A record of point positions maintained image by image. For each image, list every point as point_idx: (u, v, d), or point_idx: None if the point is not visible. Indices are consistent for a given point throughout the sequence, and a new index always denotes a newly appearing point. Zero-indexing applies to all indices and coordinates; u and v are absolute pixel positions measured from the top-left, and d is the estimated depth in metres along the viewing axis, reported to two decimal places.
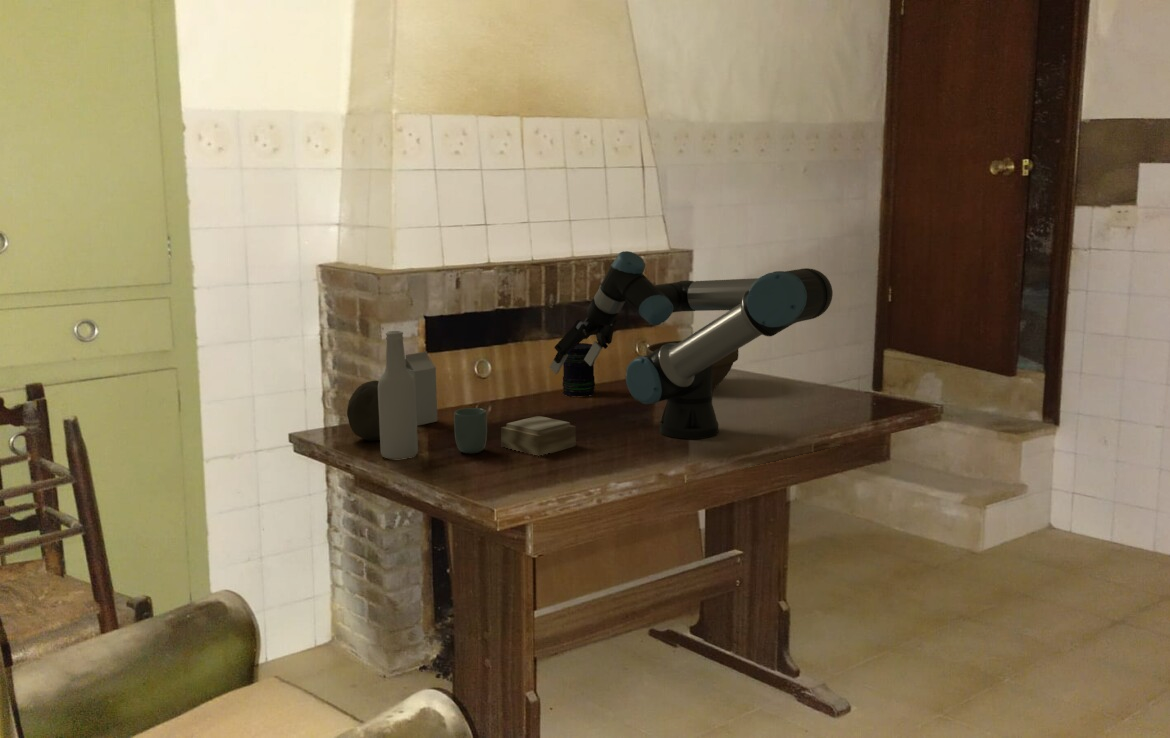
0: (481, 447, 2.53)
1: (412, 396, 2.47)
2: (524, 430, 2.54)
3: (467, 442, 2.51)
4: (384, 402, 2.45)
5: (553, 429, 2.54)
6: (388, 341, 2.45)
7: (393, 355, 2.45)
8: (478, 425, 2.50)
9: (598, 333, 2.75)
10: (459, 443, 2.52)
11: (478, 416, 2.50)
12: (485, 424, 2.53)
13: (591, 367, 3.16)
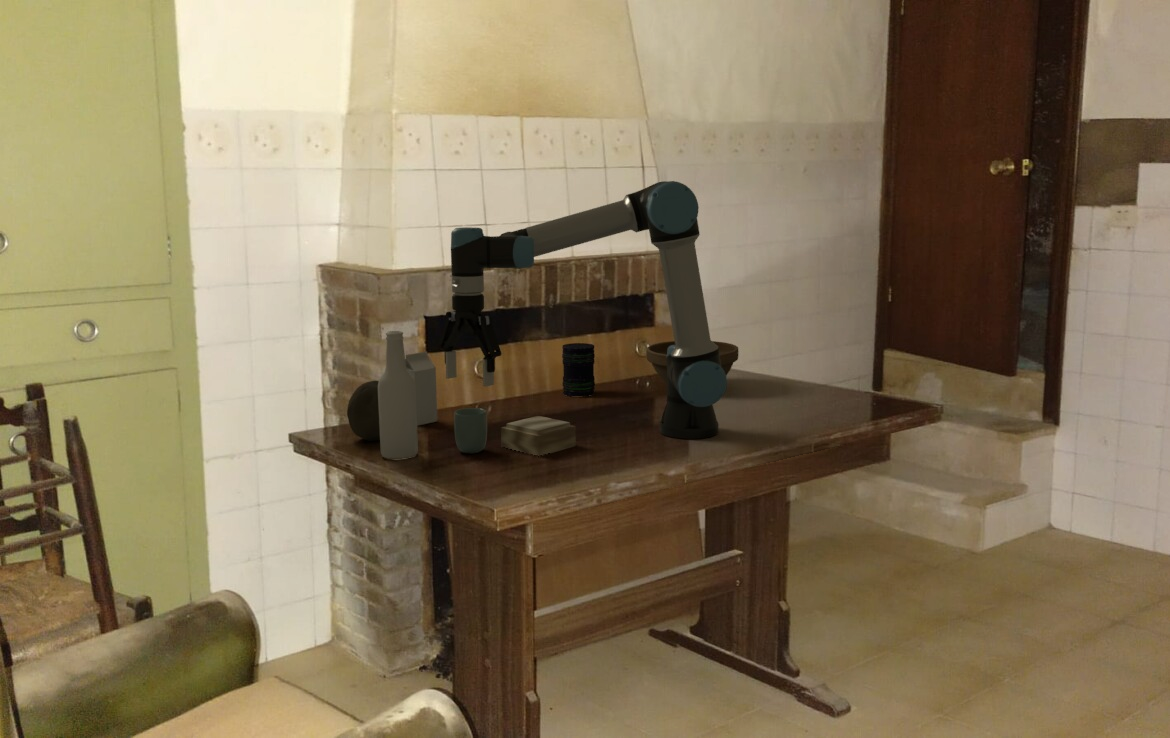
0: (481, 447, 2.53)
1: (412, 396, 2.47)
2: (524, 430, 2.54)
3: (467, 442, 2.51)
4: (384, 402, 2.45)
5: (553, 429, 2.54)
6: (388, 341, 2.45)
7: (393, 355, 2.45)
8: (478, 425, 2.50)
9: (460, 333, 2.53)
10: (459, 443, 2.52)
11: (478, 416, 2.50)
12: (485, 424, 2.53)
13: (591, 367, 3.16)
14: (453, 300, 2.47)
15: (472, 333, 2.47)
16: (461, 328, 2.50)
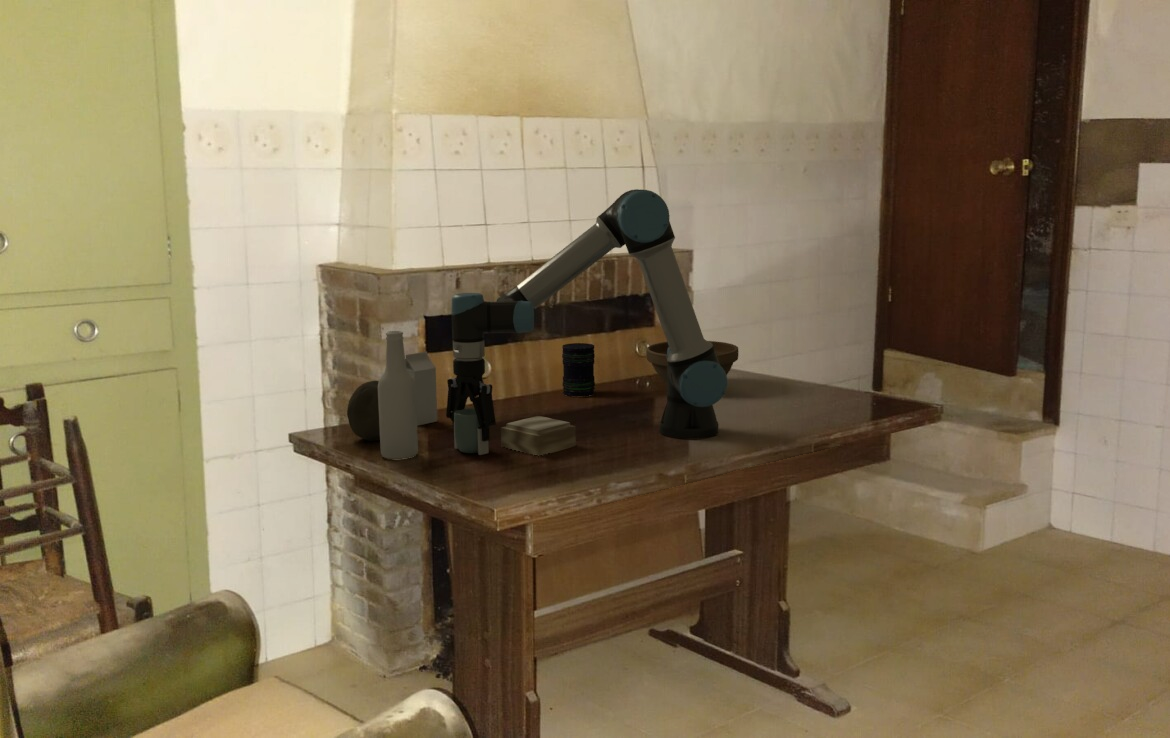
0: None
1: (412, 396, 2.47)
2: (524, 430, 2.54)
3: (467, 442, 2.51)
4: (384, 402, 2.45)
5: (553, 429, 2.54)
6: (388, 341, 2.45)
7: (393, 355, 2.45)
8: (478, 425, 2.50)
9: (464, 399, 2.54)
10: (459, 443, 2.52)
11: None
12: None
13: (591, 367, 3.16)
14: (454, 365, 2.49)
15: (471, 399, 2.50)
16: (462, 392, 2.52)
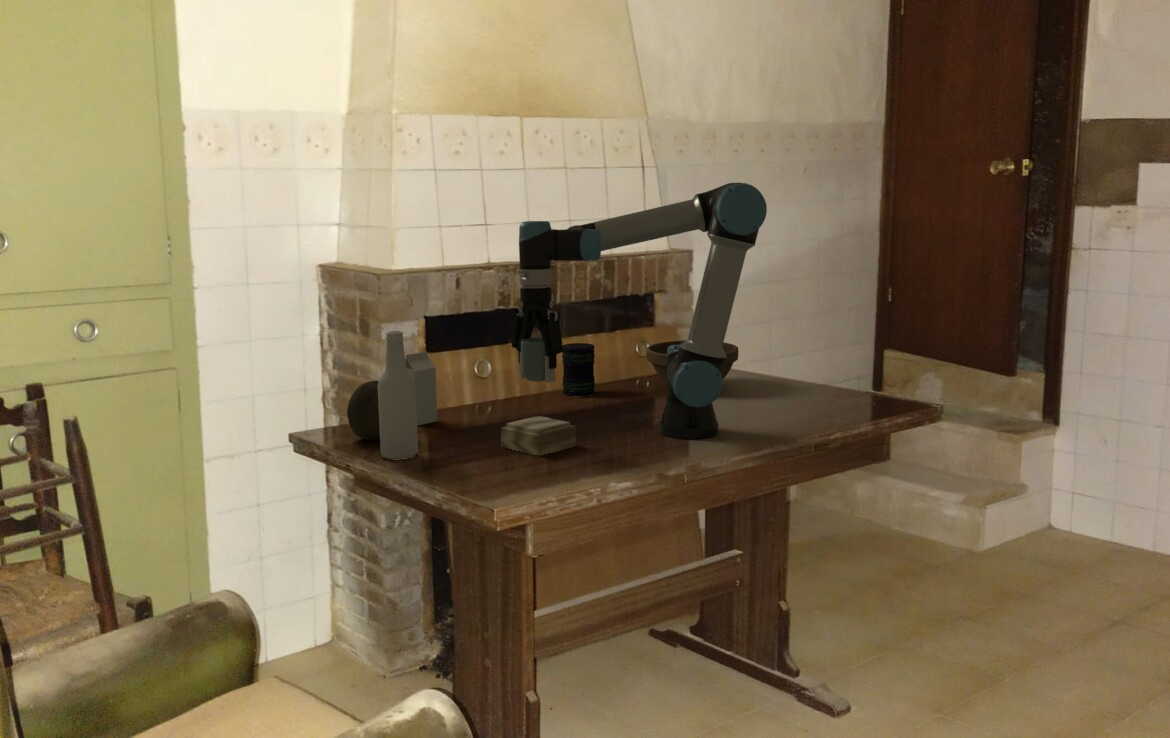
0: None
1: (412, 396, 2.47)
2: (524, 430, 2.54)
3: (534, 369, 2.52)
4: (384, 402, 2.45)
5: (553, 429, 2.54)
6: (388, 341, 2.45)
7: (393, 355, 2.45)
8: (545, 352, 2.51)
9: (530, 328, 2.55)
10: (526, 371, 2.53)
11: None
12: None
13: (591, 367, 3.16)
14: (522, 293, 2.50)
15: (538, 327, 2.51)
16: (529, 320, 2.53)
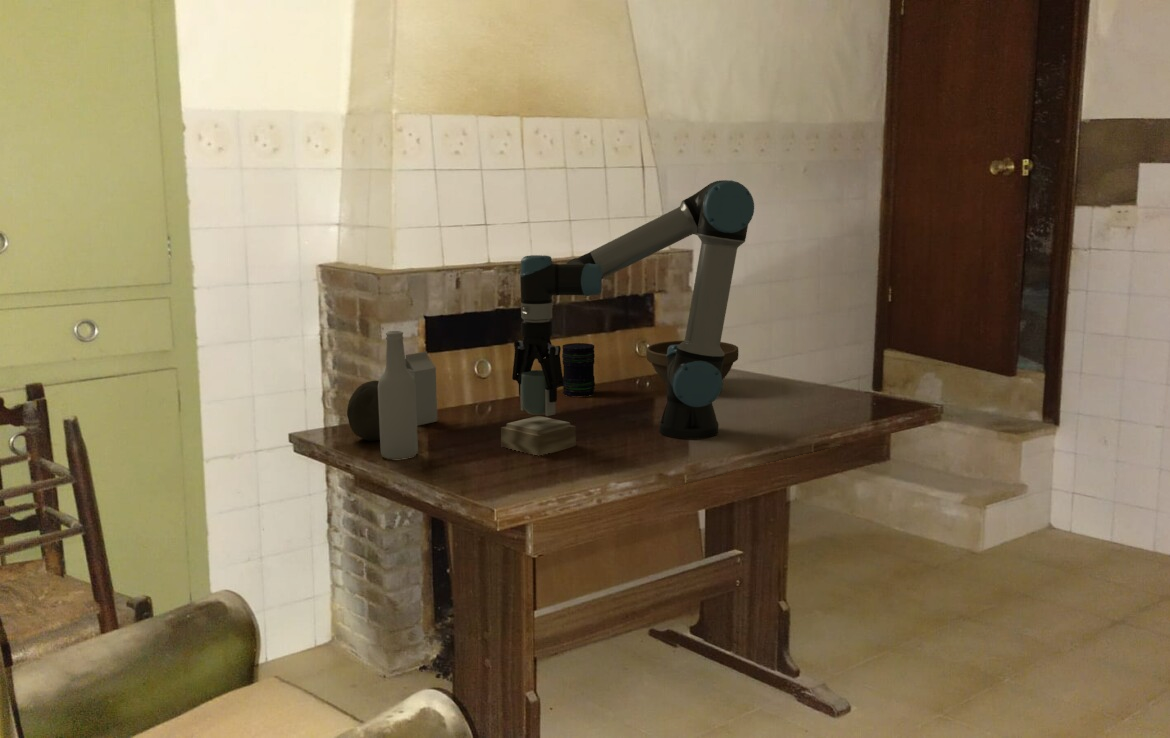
0: None
1: (412, 396, 2.47)
2: (524, 430, 2.54)
3: (534, 403, 2.53)
4: (384, 402, 2.45)
5: (553, 429, 2.54)
6: (388, 341, 2.45)
7: (393, 355, 2.45)
8: (546, 386, 2.53)
9: (531, 361, 2.57)
10: (526, 404, 2.54)
11: None
12: None
13: (591, 367, 3.16)
14: (523, 327, 2.52)
15: (539, 361, 2.52)
16: (530, 354, 2.55)
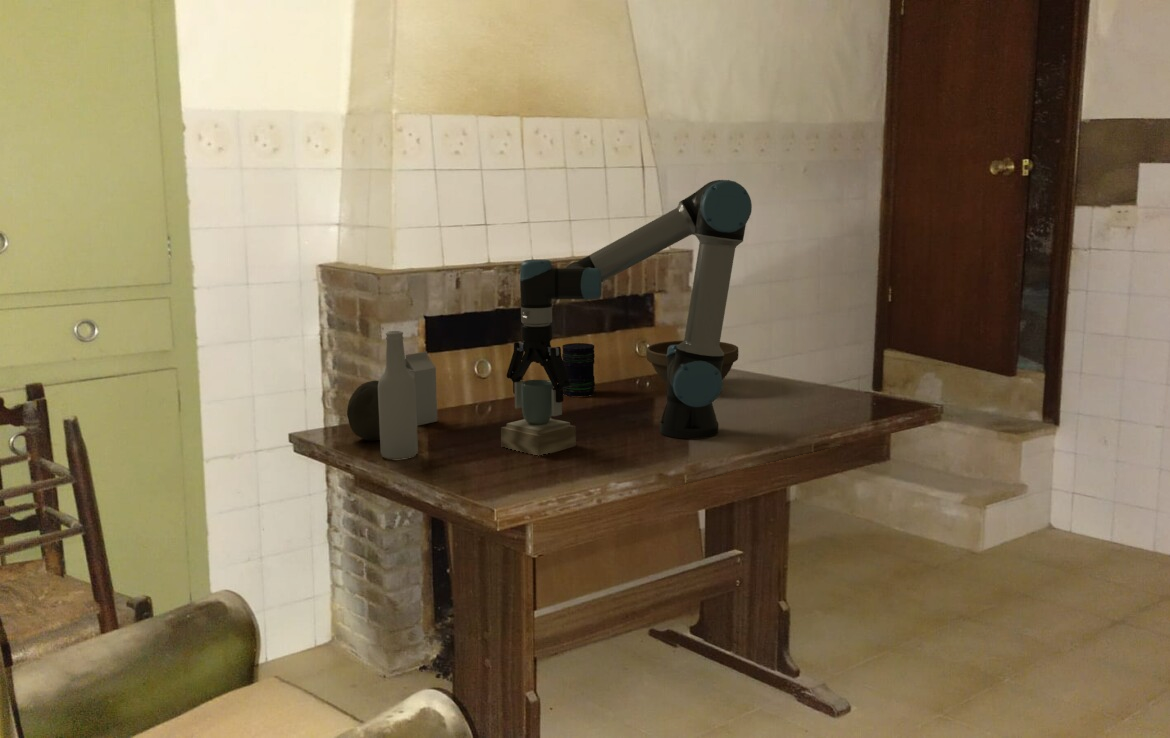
0: (548, 418, 2.56)
1: (412, 396, 2.47)
2: (524, 430, 2.54)
3: (534, 413, 2.54)
4: (384, 402, 2.45)
5: (553, 429, 2.54)
6: (388, 341, 2.45)
7: (393, 355, 2.45)
8: (546, 396, 2.54)
9: (528, 363, 2.58)
10: (526, 414, 2.55)
11: (546, 387, 2.53)
12: None
13: (591, 367, 3.16)
14: (523, 331, 2.52)
15: (541, 363, 2.52)
16: (530, 358, 2.55)
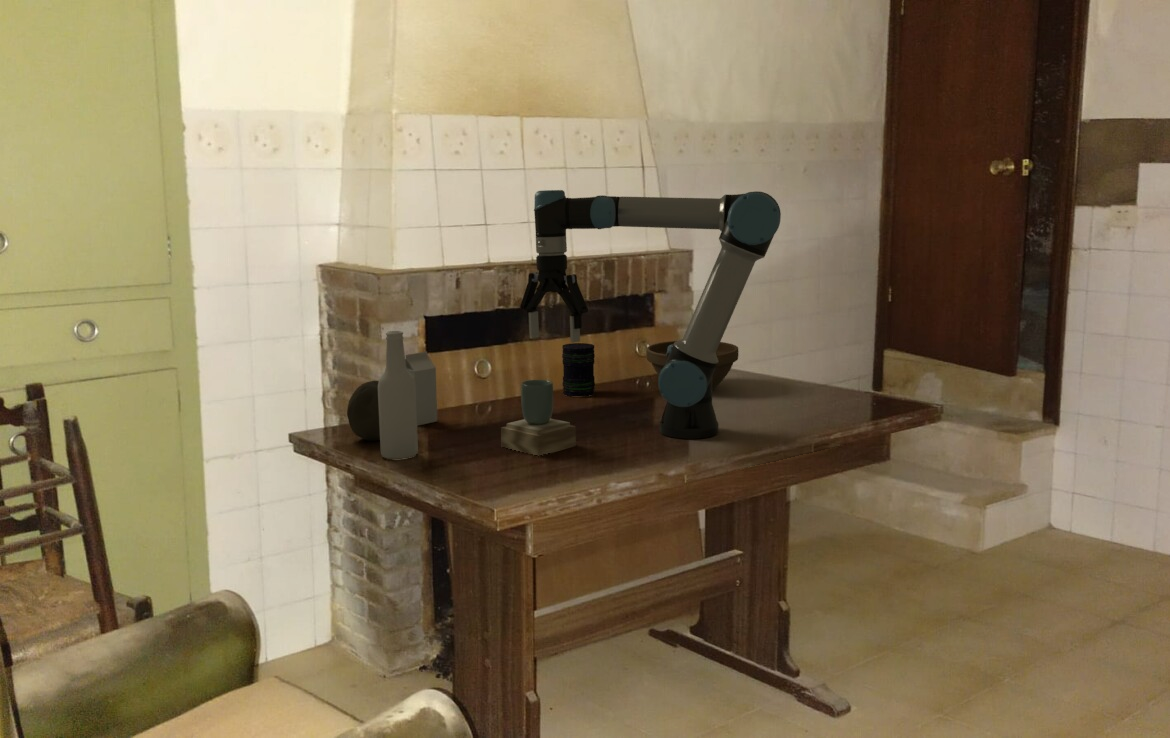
0: (548, 418, 2.56)
1: (412, 396, 2.47)
2: (524, 430, 2.54)
3: (534, 413, 2.54)
4: (384, 402, 2.45)
5: (553, 429, 2.54)
6: (388, 341, 2.45)
7: (393, 355, 2.45)
8: (546, 396, 2.54)
9: (543, 293, 2.61)
10: (526, 414, 2.55)
11: (546, 387, 2.53)
12: (552, 395, 2.56)
13: (591, 367, 3.16)
14: (538, 261, 2.56)
15: (558, 292, 2.56)
16: (545, 288, 2.59)
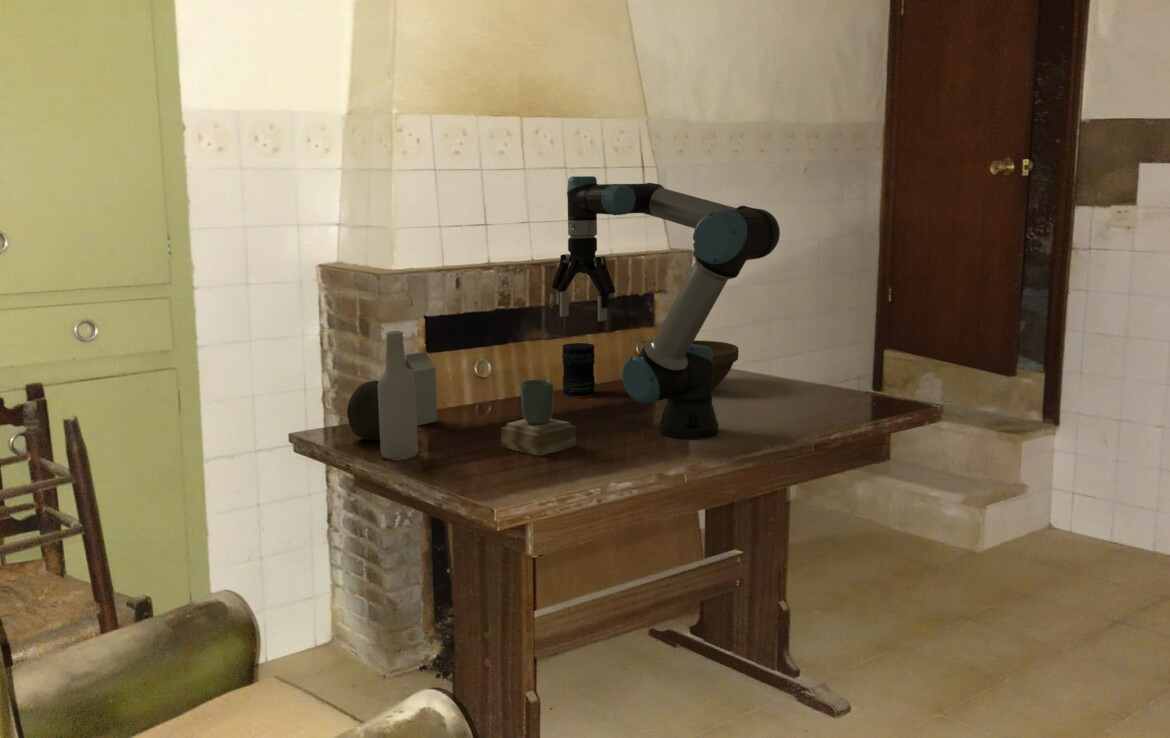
0: (548, 418, 2.56)
1: (412, 396, 2.47)
2: (524, 430, 2.54)
3: (534, 413, 2.54)
4: (384, 402, 2.45)
5: (553, 429, 2.54)
6: (388, 341, 2.45)
7: (393, 355, 2.45)
8: (546, 396, 2.54)
9: (573, 274, 2.76)
10: (526, 414, 2.55)
11: (546, 387, 2.53)
12: (552, 395, 2.56)
13: (591, 367, 3.16)
14: (570, 242, 2.70)
15: (587, 272, 2.70)
16: (576, 269, 2.74)
